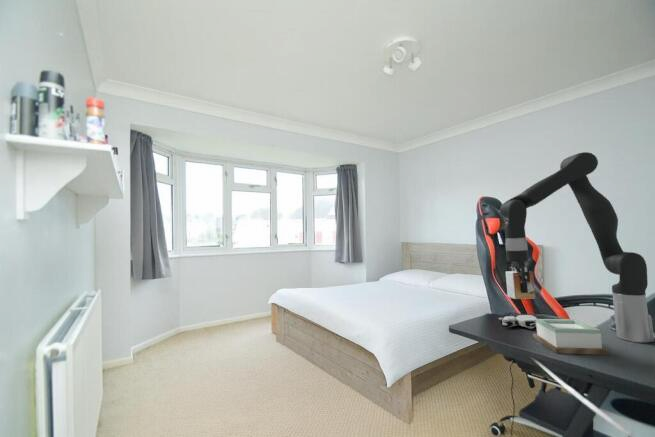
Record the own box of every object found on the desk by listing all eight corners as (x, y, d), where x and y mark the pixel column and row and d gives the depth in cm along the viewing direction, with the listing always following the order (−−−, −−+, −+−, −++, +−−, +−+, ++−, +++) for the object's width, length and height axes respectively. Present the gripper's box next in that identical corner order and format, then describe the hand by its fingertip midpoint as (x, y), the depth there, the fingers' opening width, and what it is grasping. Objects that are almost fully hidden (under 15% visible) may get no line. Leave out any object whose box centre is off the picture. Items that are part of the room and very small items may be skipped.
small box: (515, 299, 118) (512, 272, 119) (507, 296, 124) (504, 271, 125) (536, 298, 118) (533, 271, 119) (527, 296, 124) (524, 270, 124)
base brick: (577, 335, 118) (575, 319, 118) (602, 348, 104) (600, 330, 105) (537, 334, 120) (535, 319, 121) (556, 347, 107) (554, 329, 107)
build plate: (578, 338, 119) (577, 334, 119) (609, 354, 102) (608, 350, 102) (533, 337, 122) (532, 333, 122) (556, 353, 105) (555, 348, 105)
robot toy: (503, 331, 134) (543, 331, 129) (502, 321, 134) (541, 320, 129) (498, 324, 145) (534, 323, 140) (497, 314, 146) (533, 313, 141)
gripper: (535, 249, 115) (539, 294, 113) (519, 248, 129) (523, 288, 128) (513, 250, 116) (518, 294, 115) (500, 249, 130) (503, 288, 129)
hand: (520, 291), depth 121 cm, fingers closed on small box, 6 cm apart
